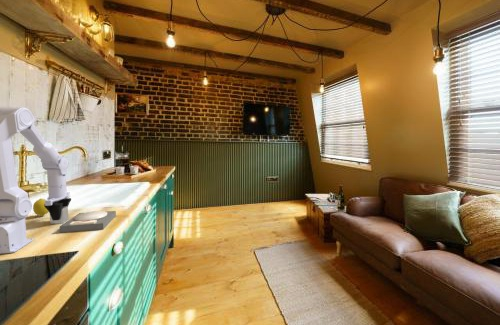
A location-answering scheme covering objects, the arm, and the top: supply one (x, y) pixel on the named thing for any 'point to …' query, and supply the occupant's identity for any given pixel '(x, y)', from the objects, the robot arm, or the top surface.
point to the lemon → (40, 207)
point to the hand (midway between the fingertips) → (59, 218)
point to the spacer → (61, 216)
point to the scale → (88, 221)
